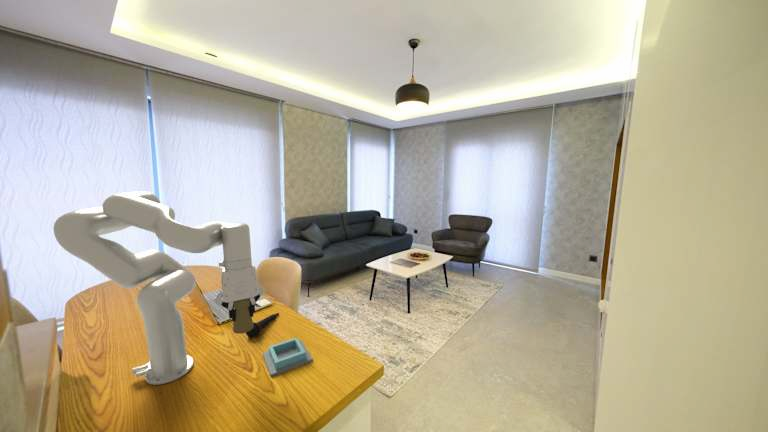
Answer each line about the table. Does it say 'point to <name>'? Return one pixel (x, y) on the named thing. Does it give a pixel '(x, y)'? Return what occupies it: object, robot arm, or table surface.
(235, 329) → the cork
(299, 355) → the socket
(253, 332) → the microphone
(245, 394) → the table surface
